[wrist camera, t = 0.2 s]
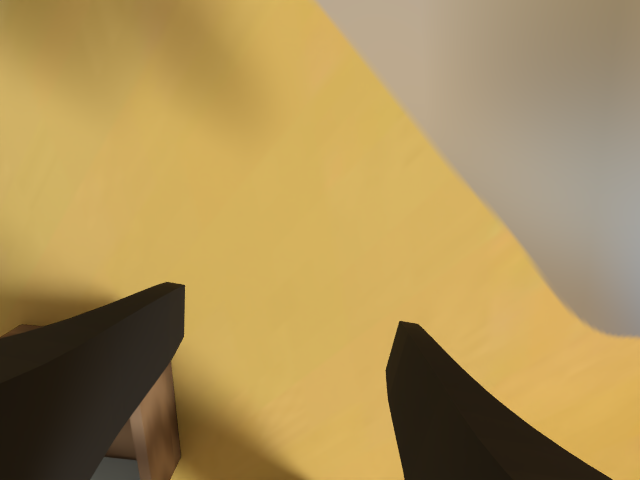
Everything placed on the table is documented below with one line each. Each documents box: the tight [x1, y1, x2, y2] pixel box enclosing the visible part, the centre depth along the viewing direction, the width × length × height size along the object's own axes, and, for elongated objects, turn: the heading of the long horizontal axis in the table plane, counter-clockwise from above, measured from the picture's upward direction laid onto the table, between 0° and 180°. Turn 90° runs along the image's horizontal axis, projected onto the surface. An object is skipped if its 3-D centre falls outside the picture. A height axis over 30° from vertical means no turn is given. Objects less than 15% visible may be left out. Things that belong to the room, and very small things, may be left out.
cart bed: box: [0, 325, 181, 480], centre depth 24 cm, size 12×11×4 cm
